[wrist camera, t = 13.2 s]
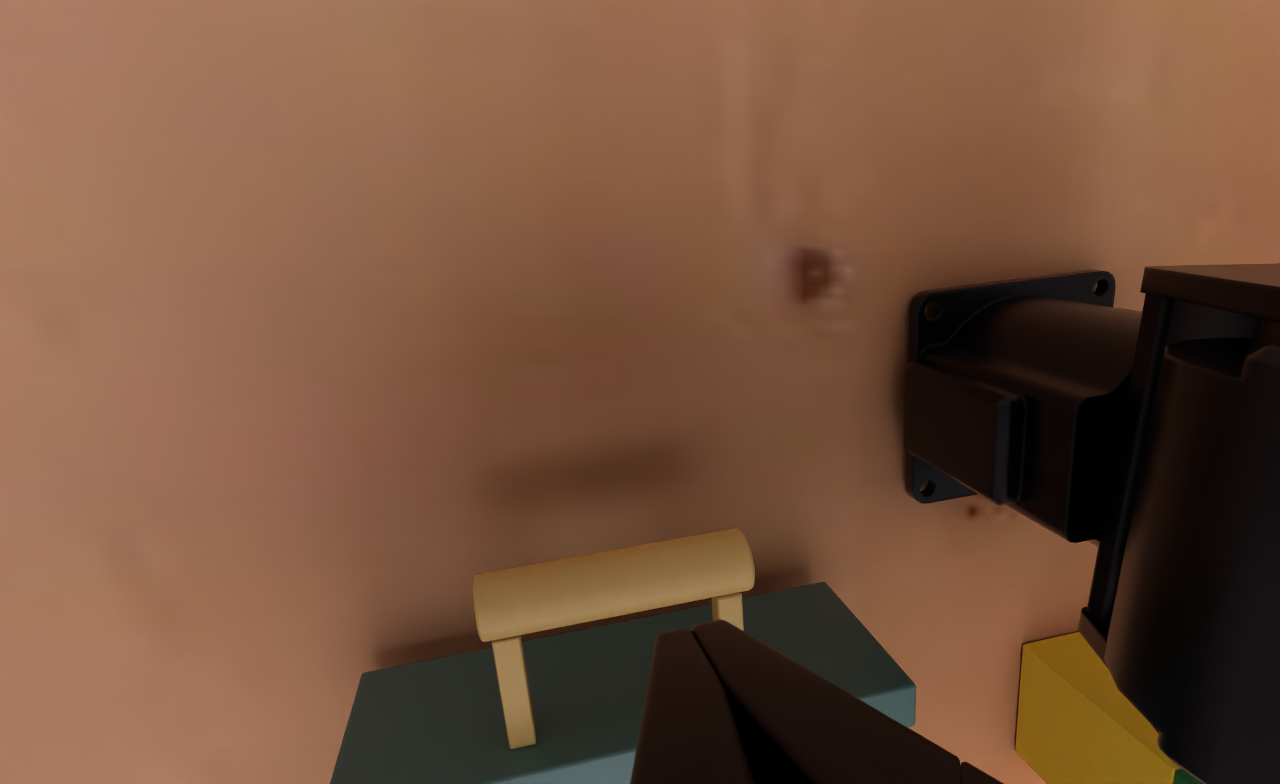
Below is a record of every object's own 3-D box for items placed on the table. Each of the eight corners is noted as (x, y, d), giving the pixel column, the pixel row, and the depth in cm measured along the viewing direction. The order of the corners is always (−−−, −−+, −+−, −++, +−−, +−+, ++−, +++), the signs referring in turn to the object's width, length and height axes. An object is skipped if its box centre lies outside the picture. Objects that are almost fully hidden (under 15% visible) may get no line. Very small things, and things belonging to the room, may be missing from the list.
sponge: (1190, 605, 25) (1413, 733, 19) (1174, 710, 27) (1379, 860, 20) (1022, 643, 24) (1202, 792, 18) (1014, 751, 25) (1180, 923, 19)
